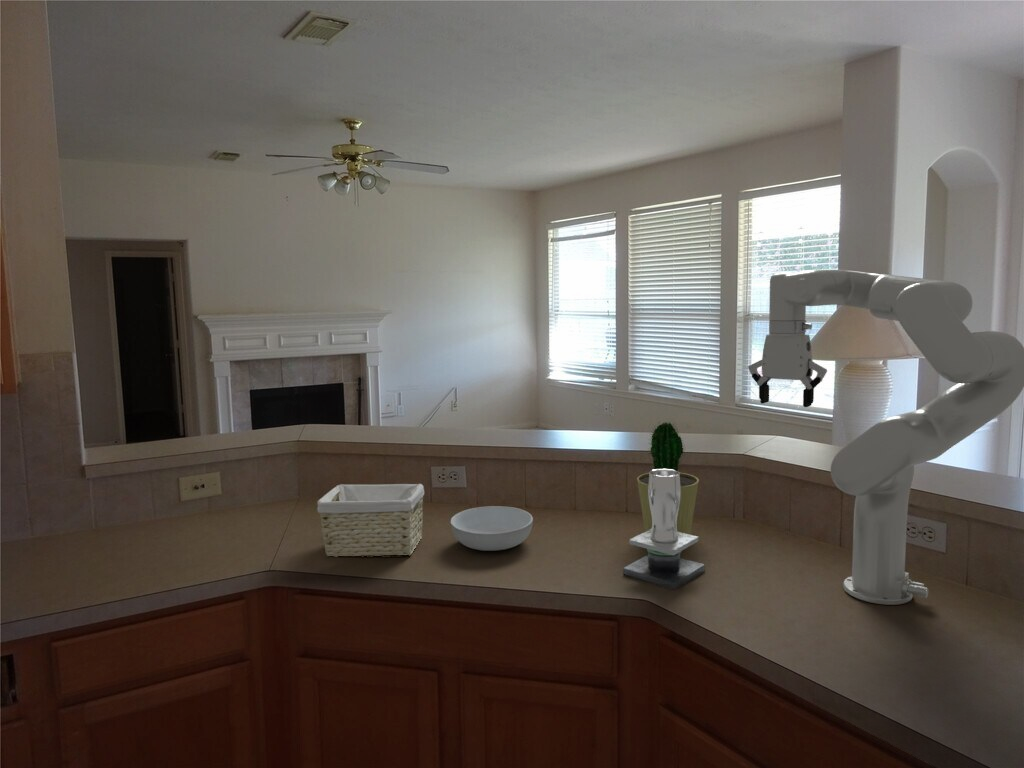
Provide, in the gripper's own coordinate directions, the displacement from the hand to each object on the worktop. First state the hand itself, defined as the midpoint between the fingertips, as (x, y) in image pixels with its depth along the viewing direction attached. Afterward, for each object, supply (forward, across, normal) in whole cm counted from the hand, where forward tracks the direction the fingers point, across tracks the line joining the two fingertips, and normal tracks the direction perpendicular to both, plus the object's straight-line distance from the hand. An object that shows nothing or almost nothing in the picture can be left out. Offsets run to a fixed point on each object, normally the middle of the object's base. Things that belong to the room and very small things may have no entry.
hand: (785, 404), depth 160 cm
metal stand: (+36, +17, +24) cm, 47 cm away
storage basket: (+37, +82, +55) cm, 106 cm away
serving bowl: (+37, +60, +35) cm, 79 cm away
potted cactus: (+36, +29, +2) cm, 47 cm away
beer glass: (+28, +17, +24) cm, 41 cm away
